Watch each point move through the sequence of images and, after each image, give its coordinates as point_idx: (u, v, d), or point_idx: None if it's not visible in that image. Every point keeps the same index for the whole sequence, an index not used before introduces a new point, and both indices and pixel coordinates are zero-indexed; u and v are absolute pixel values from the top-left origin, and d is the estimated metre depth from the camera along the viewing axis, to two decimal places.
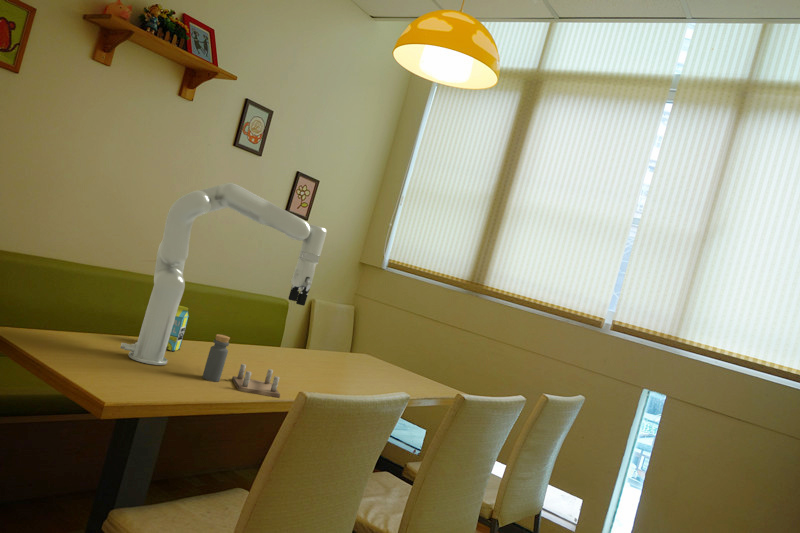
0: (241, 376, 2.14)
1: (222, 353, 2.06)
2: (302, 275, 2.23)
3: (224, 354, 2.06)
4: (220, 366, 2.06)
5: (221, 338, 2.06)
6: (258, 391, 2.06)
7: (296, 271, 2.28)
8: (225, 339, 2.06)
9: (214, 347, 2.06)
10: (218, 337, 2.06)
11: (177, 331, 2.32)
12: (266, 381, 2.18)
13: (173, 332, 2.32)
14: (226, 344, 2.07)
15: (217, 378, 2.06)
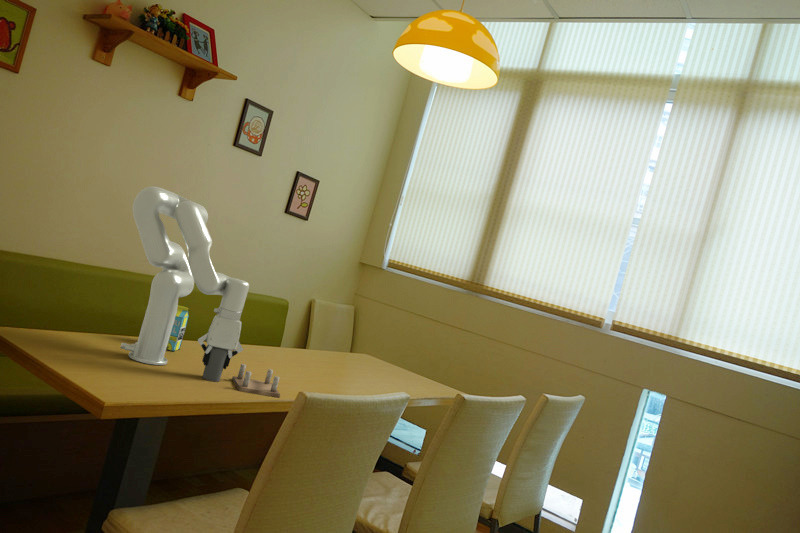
0: (241, 376, 2.14)
1: (222, 353, 2.06)
2: None
3: (224, 354, 2.06)
4: (220, 366, 2.06)
5: None
6: (258, 391, 2.06)
7: (222, 332, 2.05)
8: None
9: (214, 347, 2.06)
10: None
11: (177, 331, 2.32)
12: (266, 381, 2.18)
13: (173, 332, 2.32)
14: None
15: (217, 378, 2.06)
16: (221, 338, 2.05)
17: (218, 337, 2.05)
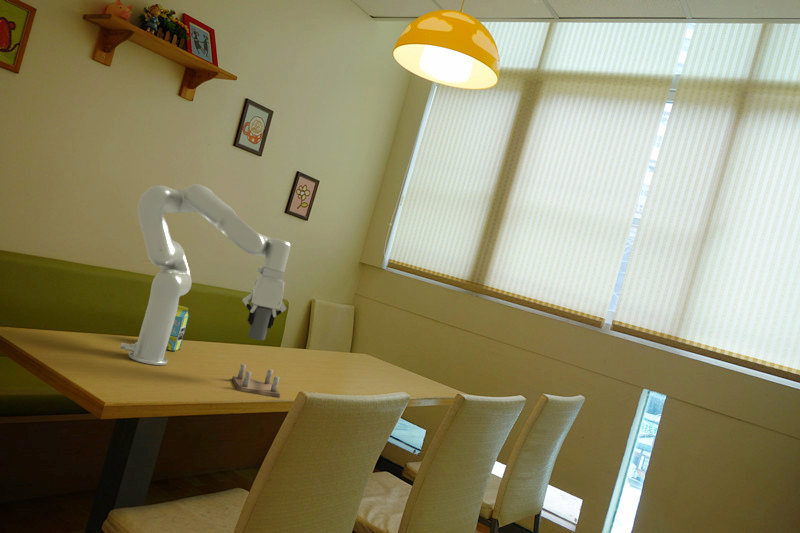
0: (241, 376, 2.14)
1: (267, 312, 2.09)
2: (282, 297, 2.11)
3: (268, 313, 2.09)
4: (265, 325, 2.09)
5: None
6: (258, 391, 2.06)
7: (266, 292, 2.08)
8: None
9: (259, 306, 2.09)
10: None
11: (177, 331, 2.32)
12: (266, 381, 2.18)
13: (173, 332, 2.32)
14: None
15: (262, 337, 2.09)
16: (265, 297, 2.08)
17: (262, 296, 2.08)
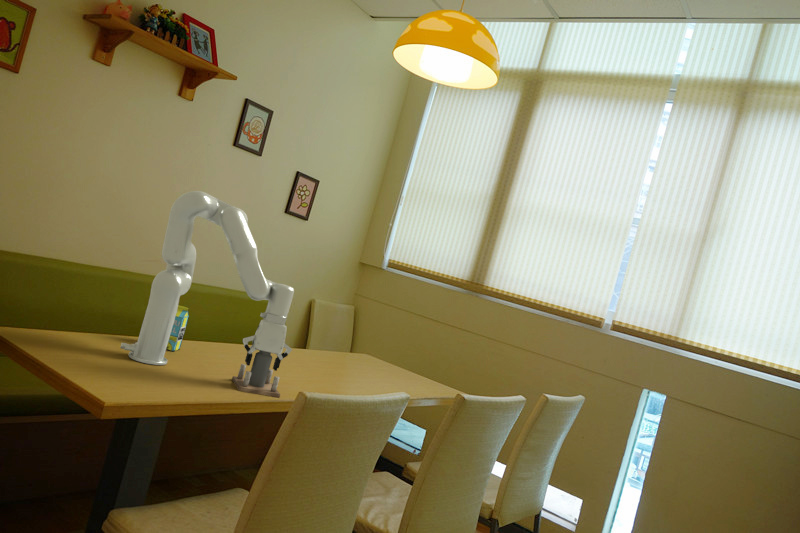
0: (241, 376, 2.14)
1: (267, 359, 2.10)
2: (284, 342, 2.12)
3: (269, 360, 2.11)
4: (265, 372, 2.11)
5: None
6: (258, 391, 2.06)
7: (268, 337, 2.09)
8: None
9: (259, 353, 2.10)
10: None
11: (177, 331, 2.32)
12: (266, 381, 2.18)
13: (173, 332, 2.32)
14: None
15: (262, 384, 2.10)
16: (267, 342, 2.10)
17: (265, 341, 2.09)
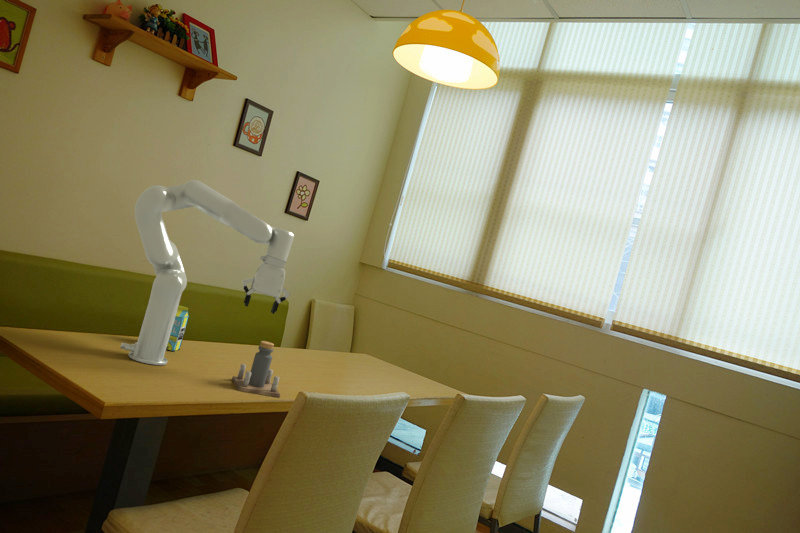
0: (241, 376, 2.14)
1: (267, 359, 2.10)
2: (282, 285, 2.17)
3: (269, 360, 2.11)
4: (265, 372, 2.11)
5: (266, 345, 2.10)
6: (258, 391, 2.06)
7: (267, 279, 2.14)
8: (270, 346, 2.11)
9: (259, 353, 2.10)
10: (263, 344, 2.10)
11: (177, 331, 2.32)
12: (266, 381, 2.18)
13: (173, 332, 2.32)
14: (271, 351, 2.11)
15: (262, 384, 2.10)
16: (266, 284, 2.14)
17: (263, 283, 2.14)
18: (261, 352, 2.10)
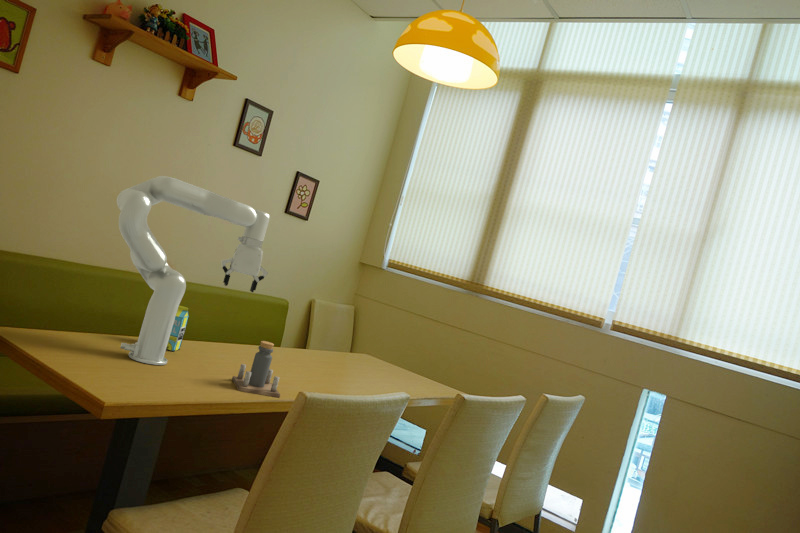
0: (241, 376, 2.14)
1: (267, 359, 2.10)
2: (260, 264, 2.25)
3: (269, 360, 2.11)
4: (265, 372, 2.11)
5: (266, 345, 2.10)
6: (258, 391, 2.06)
7: (245, 259, 2.22)
8: (270, 346, 2.11)
9: (259, 353, 2.10)
10: (263, 344, 2.10)
11: (177, 331, 2.32)
12: (266, 381, 2.18)
13: (173, 332, 2.32)
14: (271, 350, 2.11)
15: (262, 384, 2.10)
16: (244, 264, 2.23)
17: (242, 263, 2.22)
18: (261, 352, 2.10)
